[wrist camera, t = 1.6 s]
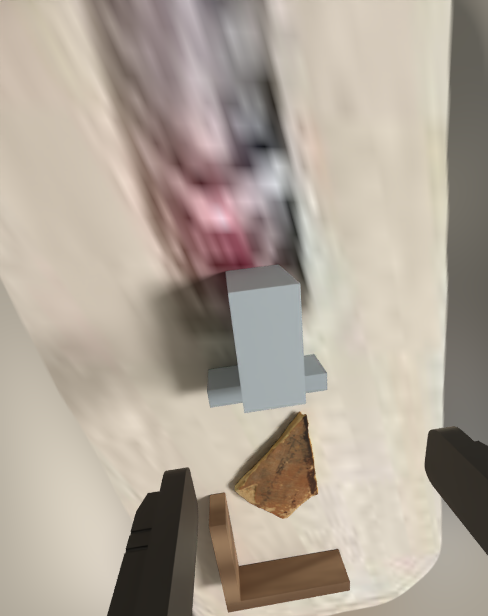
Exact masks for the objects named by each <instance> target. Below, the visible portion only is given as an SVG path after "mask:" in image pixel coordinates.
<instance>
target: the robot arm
mask: <svg viewBox="0 0 488 616" xmlns="http://www.w3.org/2000/svg"><path fill="white" fill-rule="evenodd" d="M425 471H426V474H427V476H428V479H429V481H430V482H431V484H432V485H433V487H434V488H435V489H436V491H437V492H438V493H439V494H440V496H441V497H442V498H443V499H444V501H445V502H446V503H447V504H448V506H449V507H450V508H451V509H452V511H453V512H454V513H455V515H456V516H457V517H458V518H459V519H460V521H461V522H462V523H463V525H464V526H465V527H466V528H467V530H468V531H469V532H470V534H471V535H472V536H473V537H474V539H475V540H476V541H477V542H478V544H479V545H480V546H481V547H482V549H483V550H484V551H485V552H486V554H487V555H488V446H487V445H485V444H483V443H481V442H479V441H475V442H474V441H473V440H472V439H471V438H470V437H469V436H468V435H466V434H465V433H464V432H463V431H462V430H461V429H459V428H458V427H454V426H452V427H446V428H439V429H433V430H430V431H429V433H428V439H427V447H426V456H425ZM197 533H198V505H197V499H196V494H195V490H194V486H193V481H192V477H191V473H190V469H189V468H188V467H187V468H181V469H175V470H168V471H165V472H164V475H163V479H162V483H161V488H160V491H159V492H152V493H148V494H147V495H146V497H145V499H144V500H143V502H142V503H141V505H140V506H139V508H138V509H137V511H136V514H135V518H134V521H133V525H132V529H131V535H130V536H129V539H128V543H127V546H126V553H125V554H124V557H123V561H122V564H121V568H120V572H119V575H118V579H117V582H116V586H115V589H114V593H113V597H112V600H111V604H110V607H109V611H108V614H107V616H192V606H193V592H194V577H195V562H196V548H197Z"/></svg>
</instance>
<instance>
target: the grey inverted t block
mask: <svg viewBox="0 0 488 616" xmlns="http://www.w3.org/2000/svg"><path fill="white" fill-rule="evenodd" d="M225 272H226V281H227V289H228V297H229V304H230V311H231V319H232V326H233V333H234V341H235V348H236V355H237V363H238V365H236V366H229V367H222V368H216V369H209V370H208V384H207V393H208V398H209V404H210V408H211V407H217V406H224V405H231V404H237V403H243V406H244V413H248V412H255V411H261V410H268V409H275V408H281V407H288V406H294V405H301V404H306V393H310V392H317V391H324V390H327V372H326V371H325V369H324V368H323V366H322V365H321V363H320V362H319V360H318V359H317V358H316V356H315V355H314V354H313V355H306V356H304V352H303V331H302V311H301V290H300V283H299V282H298V281H297V280H296V279H294V278H293V277H292V276H291V275H290V274H289V273H288V272H286V271H285V270H284V269H283V268H282V267H281V266H279V265H271V266H264V267H256V268H248V269H240V270H233V271H225Z"/></svg>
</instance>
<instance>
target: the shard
mask: <svg viewBox="0 0 488 616" xmlns="http://www.w3.org/2000/svg"><path fill="white" fill-rule="evenodd" d="M308 424H309V423H308V420H307V415H306V414H304V415H302V414H301V412H299V413H298V414H297V416H296V417H295V418H294V419H293V421H292V422H291V423H290V424H289V426H288V427H287V429H286V430H285V431H284V433H283V434H282V436H281V437H280V438H279V439H278V440H277V441H276V442H275V444H274V445H273V446H272V447H271V449H270V451H269V452H268V453H267V454H265V455H264V457H262V459H261V460H259V461H258V463H257V464H256V465H255V466H254V467H253V468H252V469H251V470H250V471H248V472H247V474H245V475H244V476H243V477H242V478H241V479H240V480H239V482H238V483H237V484H236V485H235V491H236V492H237V493H238V494H239V495H240V496H242V497H243V498H244V499H246V500H247V501H248V502H249V503H251V504H253V505H255V506H257V507H258V508H262V509H264V510H266V511H268V512H270V513H273V514H274V515H276V516H278V517H280V518H282V519H284V518H288V517H289V516H290V515H291V514H292V513H293V512H294V511H295V510H296V509H297V508H298V507H299V506H300V505H301V504H302V503H304V502H305V501H307V500H308V499H309V498H310V497H311V496H314V495H317V494H318V488H317V480H316V476H315V474H316V473H315V468H314V457H313V451H312V444H311V441H310V438H309V433H308Z"/></svg>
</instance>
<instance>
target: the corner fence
mask: <svg viewBox="0 0 488 616" xmlns="http://www.w3.org/2000/svg"><path fill="white" fill-rule="evenodd" d="M209 529H210V534H211V538H212V543H213V547H214V552H215V556H216V561H217V565H218V570H219V574H220V578H221V583H222V587H223V592H224V596H225V601H226V605H227V610H228V612H233V611H239V610H244V609H250V608H255V607H261V606H266V605H272V604H277V603H283V602H288V601H294V600H299V599H305V598H311V597H316V596H322V595H327V594H333V593H338V592H344V591H349V590H350V581H349V578H348V575H347V572H346V569H345V566H344V564H343V561H342V558H341V555H340V552H339V550H338V549H337V550H331V551H325V552H319V553H314V554H308V555H302V556H297V557H291V558H285V559H279V560H274V561H268V562H262V563H257V564H251V565H245V566H239V565H238V560H237V554H236V549H235V544H234V538H233V533H232V527H231V522H230V517H229V511H228V506H227V501H226V495H225V493H220V494H214V495H210V512H209Z"/></svg>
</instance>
